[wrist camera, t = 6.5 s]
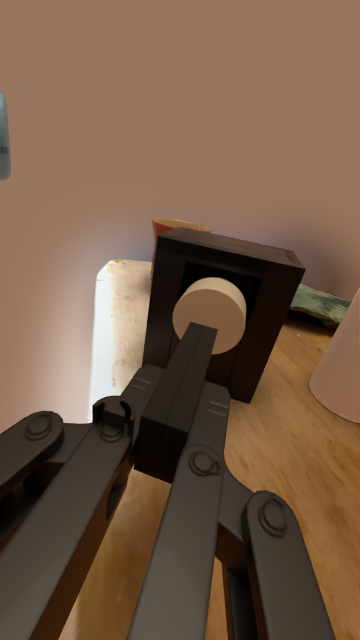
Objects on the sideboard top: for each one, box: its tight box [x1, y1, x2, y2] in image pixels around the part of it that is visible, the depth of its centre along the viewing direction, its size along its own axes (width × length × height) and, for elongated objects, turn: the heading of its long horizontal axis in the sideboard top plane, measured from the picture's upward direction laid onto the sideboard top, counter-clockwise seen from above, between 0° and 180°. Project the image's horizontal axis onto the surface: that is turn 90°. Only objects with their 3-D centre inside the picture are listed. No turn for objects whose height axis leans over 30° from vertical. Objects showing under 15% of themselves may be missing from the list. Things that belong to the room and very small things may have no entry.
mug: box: [150, 218, 211, 285], centre depth 40 cm, size 12×9×10 cm
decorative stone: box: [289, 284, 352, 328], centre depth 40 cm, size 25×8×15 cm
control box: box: [142, 227, 306, 404], centre depth 22 cm, size 10×6×12 cm, turn 75°
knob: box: [173, 277, 246, 354], centre depth 19 cm, size 5×6×5 cm
